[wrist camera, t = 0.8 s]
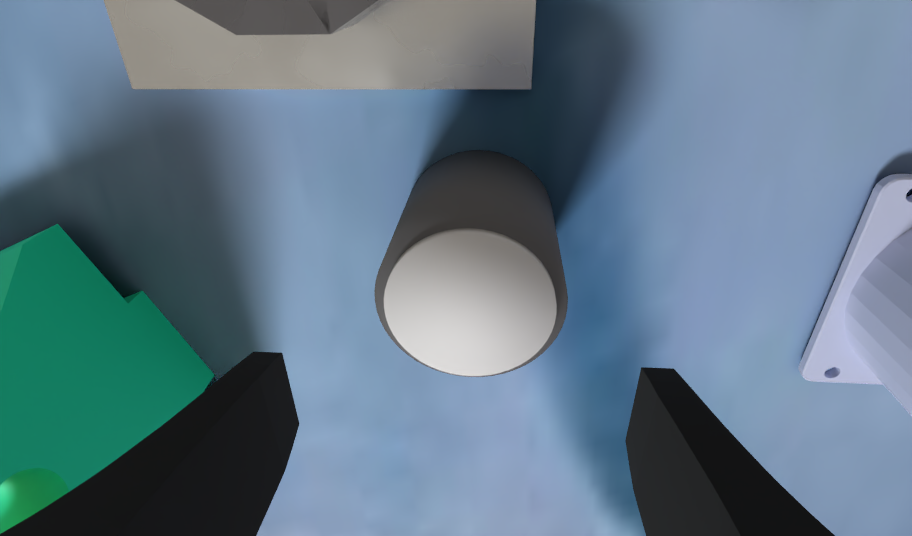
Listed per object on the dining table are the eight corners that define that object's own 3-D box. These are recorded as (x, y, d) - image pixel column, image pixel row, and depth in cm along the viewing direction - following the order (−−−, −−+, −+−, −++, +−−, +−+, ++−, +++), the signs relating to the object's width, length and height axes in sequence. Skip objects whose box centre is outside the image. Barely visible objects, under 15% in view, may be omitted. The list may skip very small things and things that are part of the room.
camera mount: (-54, 274, 21) (-455, 499, 12) (79, 210, 19) (-289, 426, 10) (143, 461, 26) (-39, 713, 18) (264, 428, 24) (126, 694, 15)
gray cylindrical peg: (558, 150, 16) (578, 224, 12) (546, 285, 19) (559, 388, 14) (401, 149, 17) (362, 220, 12) (411, 280, 19) (381, 380, 15)
